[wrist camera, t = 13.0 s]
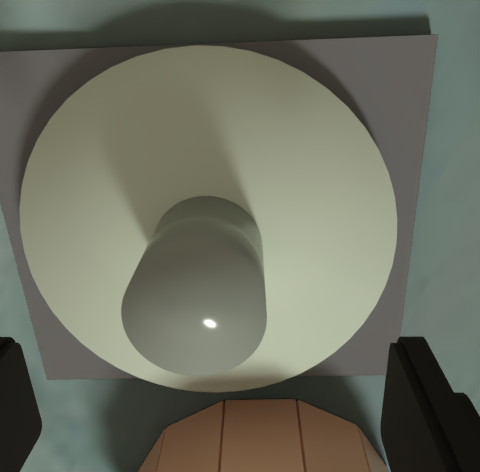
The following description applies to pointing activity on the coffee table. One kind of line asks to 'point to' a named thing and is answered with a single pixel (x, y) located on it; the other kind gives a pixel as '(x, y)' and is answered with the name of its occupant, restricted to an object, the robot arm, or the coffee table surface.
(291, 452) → the bowl
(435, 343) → the coffee table surface
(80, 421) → the coffee table surface
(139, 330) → the lid
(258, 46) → the mat
